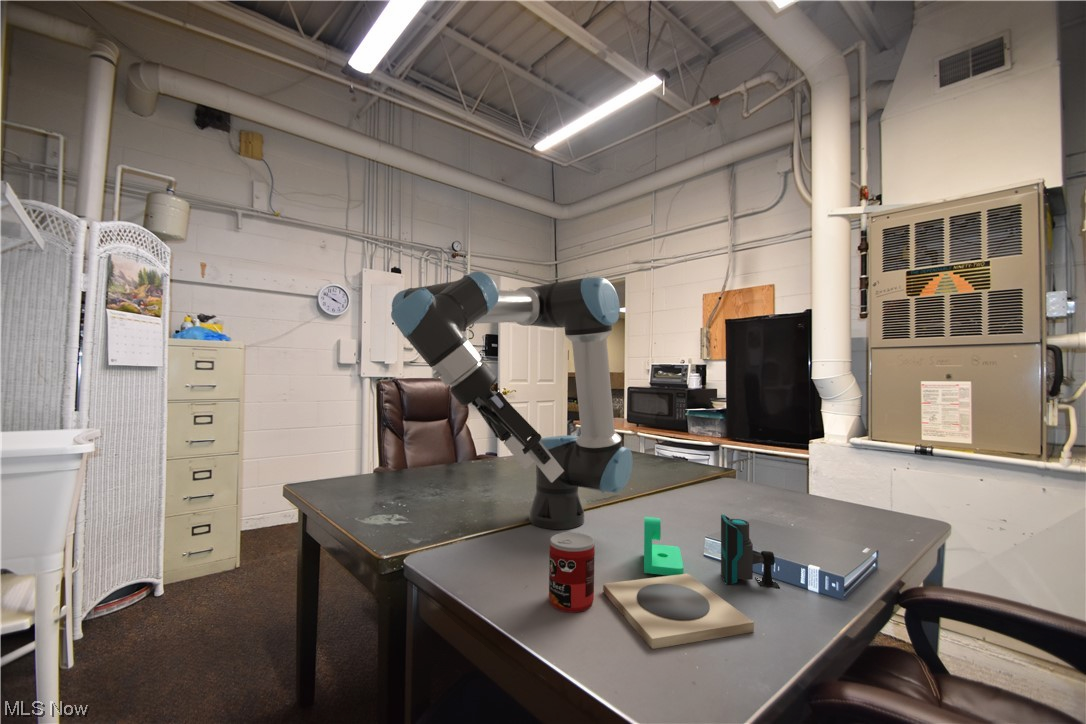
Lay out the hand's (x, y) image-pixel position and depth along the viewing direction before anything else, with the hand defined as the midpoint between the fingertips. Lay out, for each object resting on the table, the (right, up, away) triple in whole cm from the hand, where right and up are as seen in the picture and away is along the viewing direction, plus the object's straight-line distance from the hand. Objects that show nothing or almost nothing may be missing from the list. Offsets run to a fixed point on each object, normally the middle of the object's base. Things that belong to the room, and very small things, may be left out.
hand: (543, 470), depth 78 cm
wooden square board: (+22, -24, 0) cm, 33 cm away
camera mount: (+25, -25, +17) cm, 39 cm away
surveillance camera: (+41, -25, +11) cm, 49 cm away
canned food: (+5, -24, +2) cm, 25 cm away
